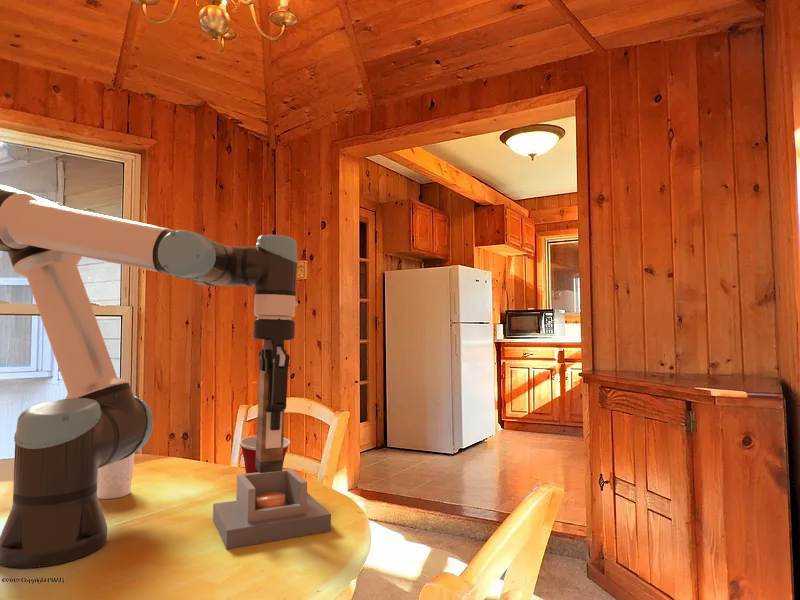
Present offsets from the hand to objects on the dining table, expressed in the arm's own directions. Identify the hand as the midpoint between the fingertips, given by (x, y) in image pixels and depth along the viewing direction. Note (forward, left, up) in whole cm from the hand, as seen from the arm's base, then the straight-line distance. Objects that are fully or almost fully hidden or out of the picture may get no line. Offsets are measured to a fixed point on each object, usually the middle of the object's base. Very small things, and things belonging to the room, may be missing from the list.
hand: (269, 444), depth 99 cm
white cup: (-26, +33, -15) cm, 44 cm away
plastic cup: (+3, +18, -15) cm, 23 cm away
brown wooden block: (0, 0, -5) cm, 5 cm away
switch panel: (0, 0, -15) cm, 15 cm away
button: (0, 0, -11) cm, 11 cm away
